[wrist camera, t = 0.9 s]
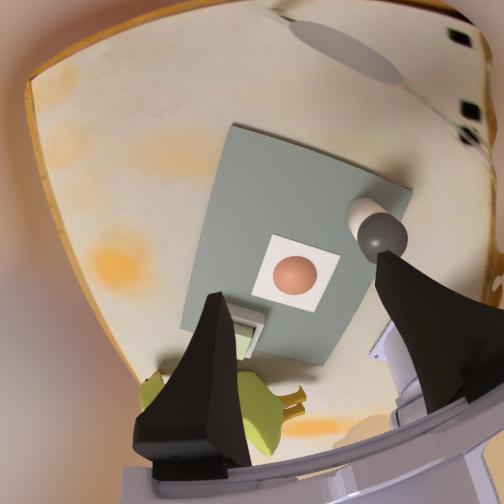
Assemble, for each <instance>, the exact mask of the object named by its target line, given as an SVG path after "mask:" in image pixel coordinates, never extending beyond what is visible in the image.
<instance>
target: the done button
mask: <svg viewBox="0 0 504 504" xmlns="http://www.w3.org/2000/svg"><path fill="white" fill-rule="evenodd" d="M233 323H234V330H235V337H236V350H237V359H239V360H243V359H244V356H245V354H246V352H247V349H248V347H249V344H250V342H251V339H252V334H253V327H252V326H249V325H245V324H242V323H238V322H235V321H233Z"/></svg>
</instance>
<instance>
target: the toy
mask: <svg viewBox="0 0 504 504" xmlns="http://www.w3.org/2000/svg"><path fill="white" fill-rule="evenodd" d="M237 380H238V393H239V400H240V406H241V412H242V418H243V424H244V430H245V435H246V440H248V441H250V442H251V443H252V444H253V445H254V446H255V447H256V448H257V449H258V450H259V451H260V452H261V453H263V454H264V455H266V456H268V457H270V456H272V455H273V453H274V451H275V450H276V448H277V446H278V444H279V441H280V437H281V426H282V424H283V423H284V422H285V421H286V420H288V419H291V418H293V417H296V416H300V415H303V414H304V413H305V409H304V407H303V405H302V403H301V402H304V401H306V394H305V392H304V391H303V389H302V387H301V386H300V385H299V387H300V389H299V391H298V392H296V393H293V394H290V395H286V396H276V395H274V394H273V393H272V392H271V391H270V390H269V389H268V388H267V386H266V385H265V384H264V383H263V382H262V380H261V379H260V378H259V377H258V376H257V374H255V373H254V372H250V371H241V372H237ZM164 386H165V384H164V382H163V378H162V375H161V373H160V371H155V372H154V374H153V375H152V376H151V377H150V378H149V379H146V380H145V382H144V383H143V384H142V385H141V387H140V390H139V402H140V405H141V409H142V412H143V411H144V410H145V409H146V408H147V407H148V406H149V405H150V403H151V402H152V401H153V400H154V399H155V397H156V396H157V395H158V394H159V392H160V391H161V390H162V388H163V387H164ZM294 404H297V405H296V406H294V407H291V408H288V409H285V408H287V407H289V406H291V405H294Z"/></svg>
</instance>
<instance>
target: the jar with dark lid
mask: <svg viewBox="0 0 504 504" xmlns="http://www.w3.org/2000/svg"><path fill="white" fill-rule="evenodd" d="M345 222H346V224H347V226H348V228H349V229H350V231H351V232H352V234H353V236H354V237H355V239H356V240H357V242H358V245H359V248H360V249H361V251H362V253H363V254H364V256H365V258H366V259H367V260H368V261H369V262H371V263H373V264H375V265H377V253H380V252H384V251H388V250H389V251H391V252H393V253H394V254H396V255H397V256H398V257H401V256H402V254H403V253H404V251H405V249H406V247H407V242H408V235H407V231H406V229H405V227H404V226H403V224H402V223H401V222H399V221H398V220H397V219H396V218H395V217H394V216H392V215H391V214H389V213H388V212H387V211H385V210H384V209H383V208H382V207H381V206H380V205H379V204H377V203H376V202H375V201H374V200H373V199H371V198H368V197H360V198H357V199H355V200H353V201H352V202H351V203H350V204H349V205H348V207H347V209H346V211H345Z"/></svg>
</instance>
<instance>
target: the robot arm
mask: <svg viewBox="0 0 504 504" xmlns="http://www.w3.org/2000/svg"><path fill="white" fill-rule="evenodd" d="M375 287H376V290H377V292H378V295H379V297H380V299H381V301H382V304H383V305H384V307H385V309H386V311H387V312H388V314H389V316H390V318H391V319H392V320H391V321H390V323H389V324H388V326H387V328H386V329H385V331H384V332H383V334H382V335H381V337H380V338H379V340H378V342H377V343H376V345H375V346H374V348H373V349H372V350H371V352H370V353H369V357H370V358H372V359H377V360H383V361H387V363H388V366H389V369H390V372H391V374H392V377H393V380H394V383H395V386H396V389H397V392H398V395H399V398H397V399H396V400H395V401H396V404H397V408H398V409H395V410H394V411H392V413H391V418H390V429H391V431H388V432H386V433H384V434H380V435H378V436H375V437H372V438H369V439H366V440H363V441H360V442H357V443H354V444H350V445H347V446H344V447H340V448H337V449H333V450H329V451H326V452H322V453H318V454H314V455H309V456H305V457H301V458H296V459H291V460H286V461H281V462H275V463H269V464H263V465H257V466H252V464H251V459H250V455H249V450H248V445H247V440H246V435H245V430H244V424H243V418H242V412H241V406H240V400H239V393H238V380H237V350H236V337H235V330H234V323H233V320H232V317H231V314H230V312H229V309H228V307H227V304H226V301H225V299H224V296H223V294H222V291H220V292H216V293H211V294H208V295H207V297H206V301H205V304H204V307H203V310H202V313H201V316H200V319H199V321H198V324H197V326H196V329H195V332H194V334H193V336H192V338H191V341H190V343H189V345H188V347H187V349H186V351H185V353H184V355H183V357H182V359H181V361H180V363H179V364H178V366H177V368H176V369H175V371H174V372H173V374H172V376H171V377H170V379H169V380H168V382H167V383H166V384H165V386H164V387H163V388H162V390H161V391H160V392H159V394H158V395H157V396H156V397H155V399H154V400H153V401H152V402H151V403H150V405H149V406H148V407H147V408H146V409H145V410H144V411H143V412H142V413H141V414H140V415H139V416H138V417H137V418H136V422H135V426H134V433H133V450H134V451H135V452H136V453H138V454H139V455H141V456H143V457H144V458H146V459H148V460H150V461H152V462H153V468H148V467H138V466H122V471H121V497H120V499H121V500H120V504H501V502H500V499H499V496H498V493H497V490H496V487H495V484H494V482H493V479H492V476H491V473H490V471H489V468H488V466H487V463H486V460H485V458H484V456H483V452H484V449H485V448H486V446H487V444H488V442H489V440H490V439H491V438H492V437H494V436H495V435H497V434H498V433H500V432H501V431H502V430H504V310H502V309H499V308H495V307H491V306H488V305H485V304H482V303H480V302H477V301H474V300H472V299H470V298H467V297H465V296H463V295H460V294H458V293H456V292H454V291H452V290H450V289H448V288H447V287H445V286H443V285H441V284H440V283H438V282H436V281H435V280H433V279H431V278H430V277H428V276H427V275H425V274H423V273H422V272H420V271H419V270H417V269H416V268H414V267H413V266H412V265H410V264H409V263H407V262H406V261H404V260H403V259H401V258H400V257H398V256H397V255H396V254H394V253H393V252H391V251H389V250H388V251H384V252H380V253H377V266H376V278H375ZM376 355H377V356H376ZM355 461H356V462H355ZM352 462H353V463H352ZM348 463H351V464H348ZM345 464H348V465H346V466H344V467H342V468H340V469H337V470H333V471H330V472H327V473H324V474H320V475H317V476H314V477H310V478H306V479H303V480H299V481H298V479H297V478H296V476H300V475H306V474H310V473H314V472H318V471H323V470H326V469H330V468H334V467H337V466H341V465H345ZM291 477H293V478H291Z"/></svg>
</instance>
